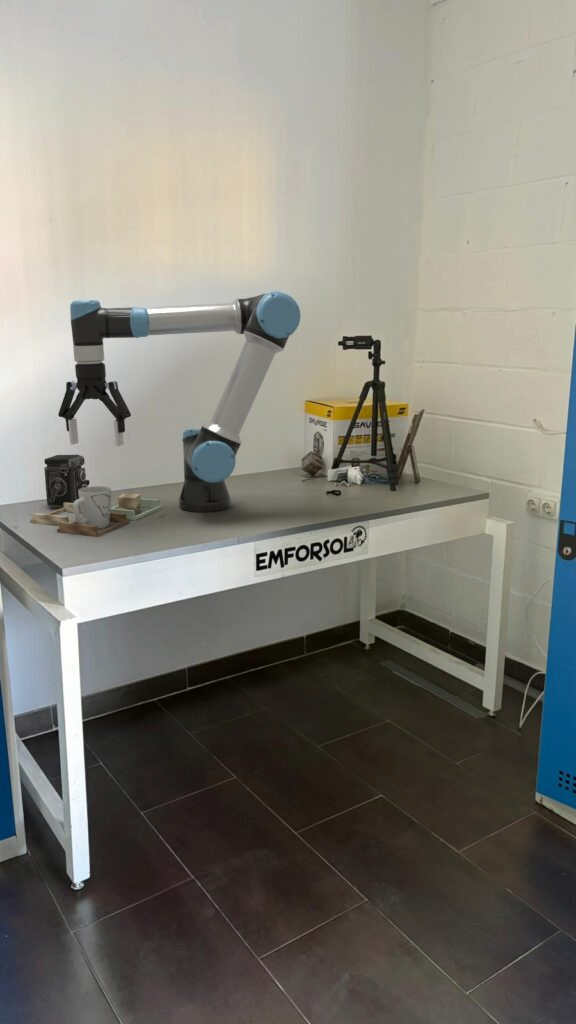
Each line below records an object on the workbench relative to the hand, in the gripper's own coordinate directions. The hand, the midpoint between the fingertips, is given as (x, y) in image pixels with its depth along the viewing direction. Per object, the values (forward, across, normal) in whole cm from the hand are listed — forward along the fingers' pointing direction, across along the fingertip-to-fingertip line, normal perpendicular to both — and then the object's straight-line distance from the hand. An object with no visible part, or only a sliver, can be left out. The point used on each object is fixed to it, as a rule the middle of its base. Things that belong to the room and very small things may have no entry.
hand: (96, 444), depth 203 cm
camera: (+22, +20, -15) cm, 33 cm away
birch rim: (+21, +13, -2) cm, 25 cm away
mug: (+22, +1, +4) cm, 22 cm away
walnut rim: (+22, 0, +4) cm, 22 cm away
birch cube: (+22, 0, -14) cm, 26 cm away
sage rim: (+22, 0, -14) cm, 26 cm away
